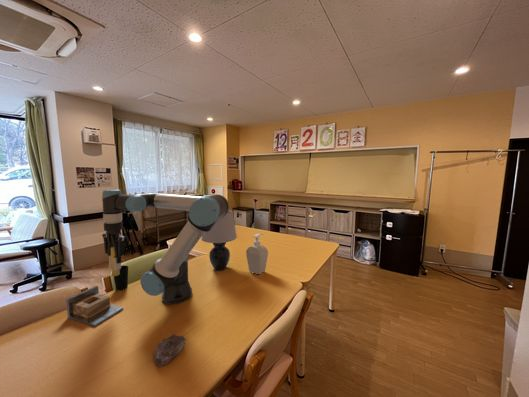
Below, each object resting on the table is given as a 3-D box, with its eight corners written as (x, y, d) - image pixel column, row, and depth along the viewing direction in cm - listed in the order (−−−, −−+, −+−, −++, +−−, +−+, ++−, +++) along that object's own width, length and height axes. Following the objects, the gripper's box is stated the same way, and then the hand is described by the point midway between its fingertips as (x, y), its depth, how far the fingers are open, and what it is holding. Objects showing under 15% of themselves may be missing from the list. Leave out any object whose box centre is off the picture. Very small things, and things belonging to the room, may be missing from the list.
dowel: (121, 273, 110) (120, 246, 108) (114, 276, 107) (113, 248, 105) (116, 272, 111) (115, 245, 109) (110, 275, 108) (108, 247, 106)
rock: (146, 364, 76) (146, 351, 76) (169, 340, 87) (169, 329, 87) (166, 370, 74) (166, 357, 74) (187, 345, 85) (187, 334, 85)
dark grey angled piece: (123, 309, 107) (121, 291, 106) (94, 326, 95) (93, 307, 94) (97, 302, 113) (96, 285, 112) (67, 317, 101) (65, 299, 100)
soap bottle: (269, 271, 150) (269, 234, 147) (260, 276, 142) (260, 237, 139) (255, 266, 157) (255, 231, 154) (246, 271, 149) (245, 234, 146)
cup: (122, 292, 123) (120, 271, 121) (110, 290, 124) (108, 270, 123) (132, 285, 130) (131, 266, 129) (121, 284, 132) (120, 265, 130)
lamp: (194, 270, 151) (192, 212, 146) (219, 259, 171) (218, 208, 167) (220, 279, 138) (219, 216, 134) (243, 265, 158) (243, 211, 154)
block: (110, 306, 108) (109, 296, 107) (88, 318, 98) (87, 308, 98) (96, 302, 111) (95, 292, 110) (73, 314, 102) (72, 303, 101)
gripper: (132, 222, 106) (134, 268, 109) (109, 218, 112) (111, 262, 115) (117, 225, 99) (119, 274, 102) (93, 221, 105) (96, 268, 108)
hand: (115, 268), depth 108 cm, fingers closed on dowel, 3 cm apart
